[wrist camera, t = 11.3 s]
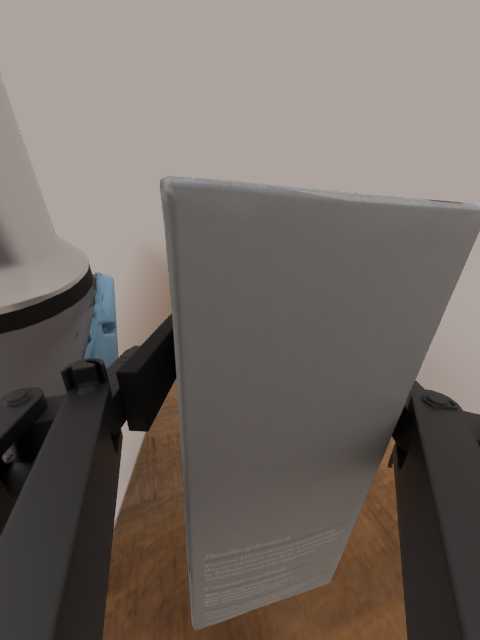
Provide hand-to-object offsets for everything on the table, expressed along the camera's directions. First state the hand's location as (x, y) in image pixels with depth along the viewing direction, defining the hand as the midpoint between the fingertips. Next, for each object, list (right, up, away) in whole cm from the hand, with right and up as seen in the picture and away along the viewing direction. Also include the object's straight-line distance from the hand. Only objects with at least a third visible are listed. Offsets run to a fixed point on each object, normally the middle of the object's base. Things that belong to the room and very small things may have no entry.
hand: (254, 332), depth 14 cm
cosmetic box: (0, -10, -1) cm, 10 cm away
